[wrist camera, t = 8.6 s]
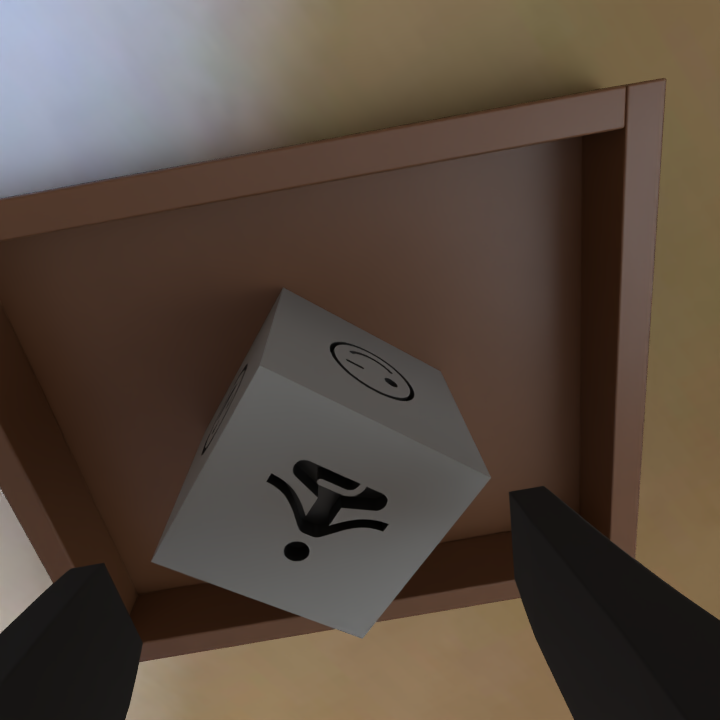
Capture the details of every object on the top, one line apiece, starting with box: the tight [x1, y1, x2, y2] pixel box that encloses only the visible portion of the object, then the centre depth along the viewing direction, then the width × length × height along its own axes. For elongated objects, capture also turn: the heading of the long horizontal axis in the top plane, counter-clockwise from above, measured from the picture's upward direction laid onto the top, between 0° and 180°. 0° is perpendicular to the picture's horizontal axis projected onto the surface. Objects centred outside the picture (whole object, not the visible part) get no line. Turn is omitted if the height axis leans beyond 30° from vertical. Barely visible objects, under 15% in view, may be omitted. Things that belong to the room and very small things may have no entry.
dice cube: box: [151, 288, 491, 638], centre depth 13 cm, size 5×5×5 cm
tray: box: [0, 78, 666, 662], centre depth 14 cm, size 17×14×2 cm
